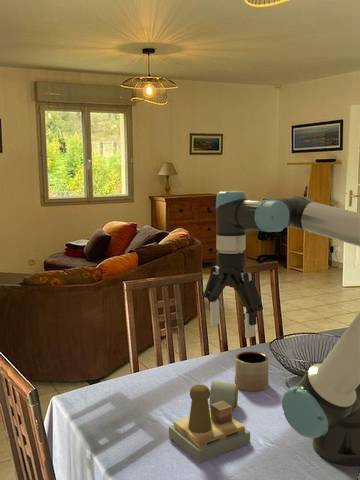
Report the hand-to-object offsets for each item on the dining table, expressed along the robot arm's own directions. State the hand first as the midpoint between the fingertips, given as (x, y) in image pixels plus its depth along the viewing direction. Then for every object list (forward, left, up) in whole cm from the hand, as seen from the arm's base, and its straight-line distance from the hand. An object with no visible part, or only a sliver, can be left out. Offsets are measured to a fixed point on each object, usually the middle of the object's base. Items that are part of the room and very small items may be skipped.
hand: (231, 330), depth 133 cm
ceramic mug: (+12, -7, -28) cm, 31 cm away
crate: (-1, +4, -23) cm, 24 cm away
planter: (+18, -23, -28) cm, 40 cm away
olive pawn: (-1, +11, -24) cm, 26 cm away
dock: (-1, +8, -28) cm, 29 cm away
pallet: (-1, +8, -25) cm, 26 cm away
